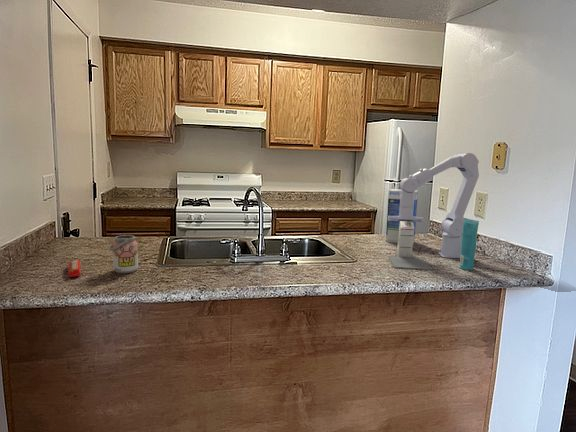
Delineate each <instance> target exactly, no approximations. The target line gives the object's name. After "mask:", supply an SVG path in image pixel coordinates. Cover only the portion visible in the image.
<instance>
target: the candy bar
mask: <svg viewBox="0 0 576 432" xmlns="http://www.w3.org/2000/svg"><path fill="white" fill-rule="evenodd" d="M81 265H82V264H81V262H80V260H79V259H75V260H72V261H69V262H68V266H67V267H68V270H67V271H68V272H67V274H68V277H69V278H70V277H74V278H77V277H80V276H81V274H82V272H81V271H82V270H81V269H82V268H81Z"/></svg>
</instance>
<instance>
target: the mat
mask: <svg viewBox="0 0 576 432" xmlns="http://www.w3.org/2000/svg"><path fill="white" fill-rule="evenodd" d="M388 259H389V261H390V263H391V265H392V266H393V268H394V269H405V270H421V271H422V270H423V271H425V270H426V271H433V268H432V267H431V265H430V264H429V263H428V262H427V261H426V260H425V259H424V258H423V257H414V256H411V257H398V256H391V255H388Z"/></svg>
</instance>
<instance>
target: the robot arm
mask: <svg viewBox="0 0 576 432" xmlns="http://www.w3.org/2000/svg"><path fill="white" fill-rule="evenodd" d="M479 162H480V161H479V159H478V158H477V156H476V155H475V154H474V153H472V152H467V153H464V152H459V153H456V154H455V155H451V156H450V157H448V158H446V159H444V160H442V161H441V162H439V163H437V164H436V165H434V166H433V167H431V168H419V170H418V171H417V172H415V173H413V174H409V175H408V177H404V178H402V179H401V181H400V183H399V184H398V187H399V189H400V190H401V195H400V208H399V216H388V221H398V222H399V224H400V221H412V222H416V223H424V221H425V220H424V219H425V218H424V217H423V216H416V217H414V216H413V209H414V194H415V191H416V190H418V188H420V187H422V186H423V185H425V184H427V183H429V182H431V181H432V180H433V178H434V176H436V175H438V174H441V173H442V172H444V171H446V170H449V169H451V168H457V170H459V171H460V172H461V175H462V176H463V179H462V181H461V184H460V186H459V189H458V191H457V194H456V197H455V200H454V202H453V204H452V208H451V210H450V212H449V213H448V214H446V215H445V218H444V219H443V220H442V222H441V224H440V229H441V230H442V234H441V245H440V246H441V248H440V251H437V254H438V255H439V256H441V257H442V258H450V259H460V256H461V246H462V234H463V221H464V218H465V217H464V216H465V213H466V210H467V208H468V205H469V202H470V200H471V198H472V195H473V193H474V189H475V188H476V184H477V182H478V180H479V175H480V174H479ZM402 219H403V220H402Z"/></svg>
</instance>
